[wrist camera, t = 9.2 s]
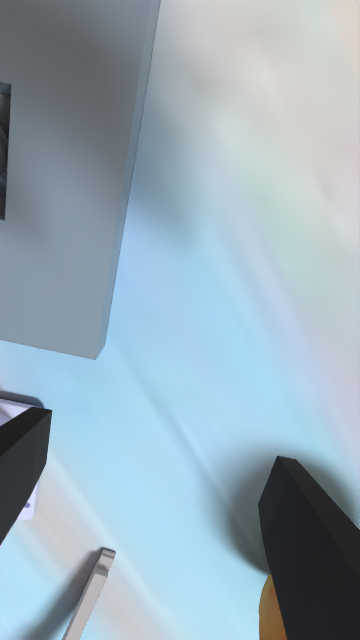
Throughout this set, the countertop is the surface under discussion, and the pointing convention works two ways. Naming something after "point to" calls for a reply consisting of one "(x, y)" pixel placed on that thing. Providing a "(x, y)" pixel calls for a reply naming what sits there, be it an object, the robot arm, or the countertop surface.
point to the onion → (270, 614)
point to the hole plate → (68, 162)
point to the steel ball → (3, 153)
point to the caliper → (89, 596)
